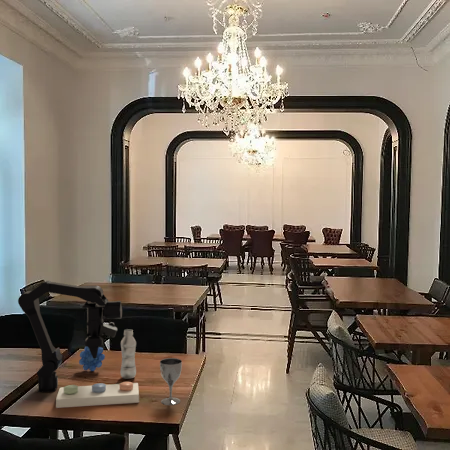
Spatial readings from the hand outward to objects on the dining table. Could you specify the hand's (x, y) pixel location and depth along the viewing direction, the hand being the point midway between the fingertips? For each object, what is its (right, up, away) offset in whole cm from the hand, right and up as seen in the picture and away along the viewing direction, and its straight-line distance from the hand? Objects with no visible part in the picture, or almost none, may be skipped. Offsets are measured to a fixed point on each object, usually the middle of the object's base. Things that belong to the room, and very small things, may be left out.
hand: (94, 358), depth 199 cm
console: (+4, -13, -10) cm, 16 cm away
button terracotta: (+14, -12, -8) cm, 20 cm away
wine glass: (+31, -13, -12) cm, 35 cm away
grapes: (-6, -11, +22) cm, 25 cm away
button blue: (+4, -12, -10) cm, 16 cm away
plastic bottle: (+11, -12, +13) cm, 20 cm away
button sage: (-6, -12, -12) cm, 18 cm away
